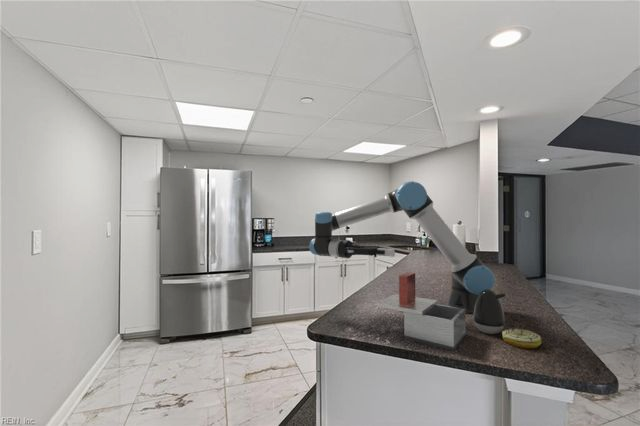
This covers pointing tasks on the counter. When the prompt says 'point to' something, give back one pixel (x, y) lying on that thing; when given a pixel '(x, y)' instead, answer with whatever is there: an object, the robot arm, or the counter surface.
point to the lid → (407, 297)
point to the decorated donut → (521, 338)
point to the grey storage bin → (437, 326)
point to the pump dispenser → (489, 312)
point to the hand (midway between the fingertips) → (393, 252)
